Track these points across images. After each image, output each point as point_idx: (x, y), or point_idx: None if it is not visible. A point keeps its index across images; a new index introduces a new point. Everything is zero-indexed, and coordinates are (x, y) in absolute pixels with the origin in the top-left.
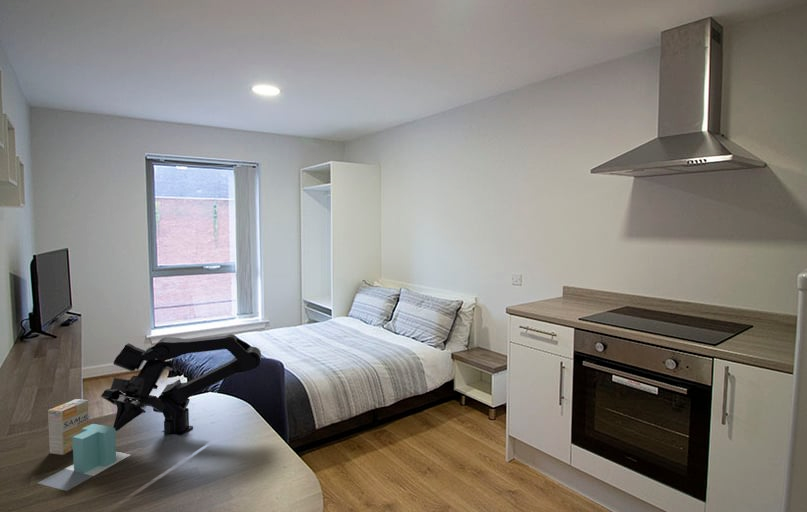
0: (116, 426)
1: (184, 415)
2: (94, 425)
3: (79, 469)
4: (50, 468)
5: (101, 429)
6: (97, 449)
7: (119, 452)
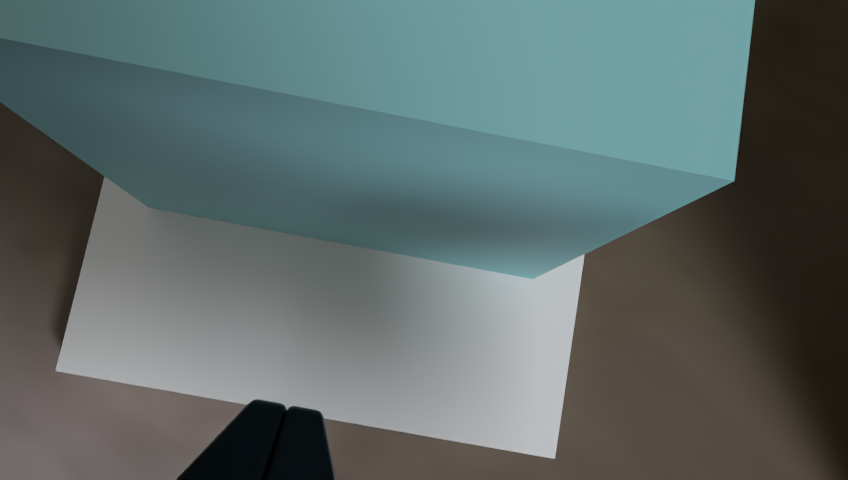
0: (229, 440)
1: None
2: (593, 89)
3: None
4: (822, 37)
5: None
6: None
7: None
